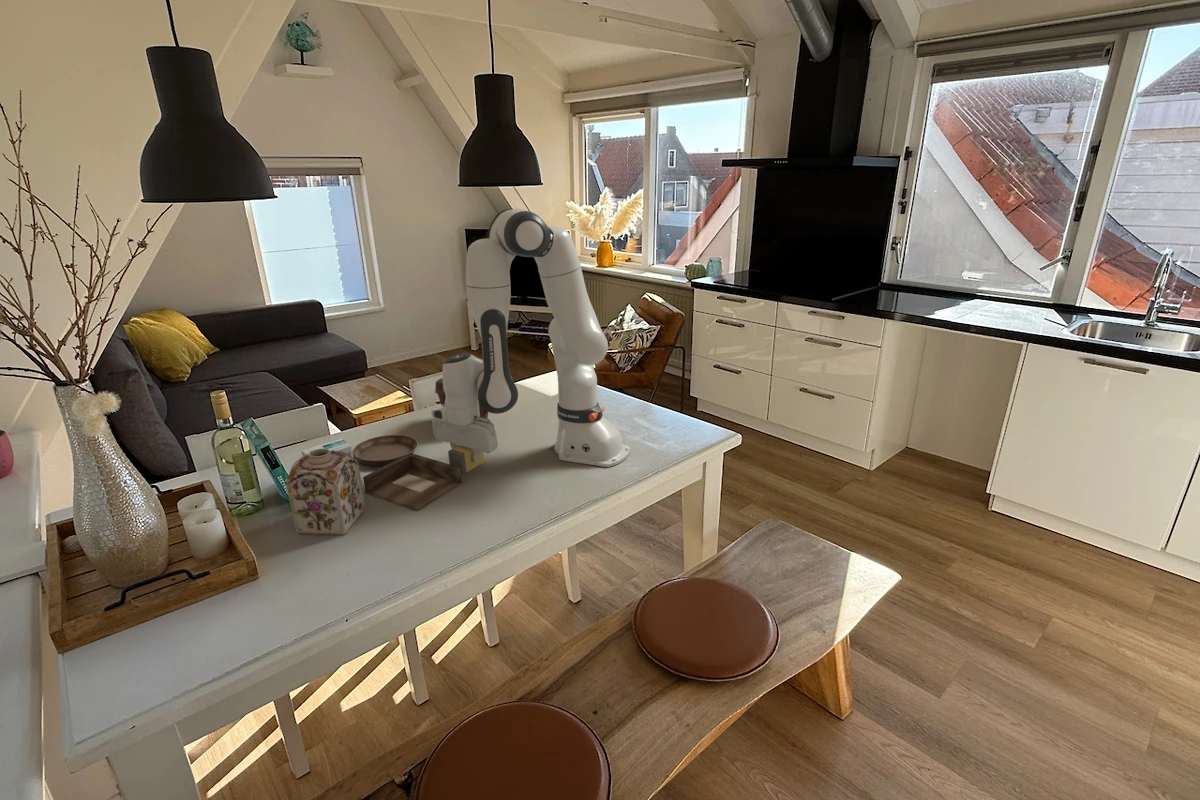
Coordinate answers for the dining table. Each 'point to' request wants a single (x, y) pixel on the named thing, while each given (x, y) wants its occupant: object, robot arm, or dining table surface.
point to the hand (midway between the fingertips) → (466, 459)
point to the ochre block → (464, 458)
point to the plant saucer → (384, 449)
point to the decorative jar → (325, 492)
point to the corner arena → (412, 481)
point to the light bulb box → (332, 447)
